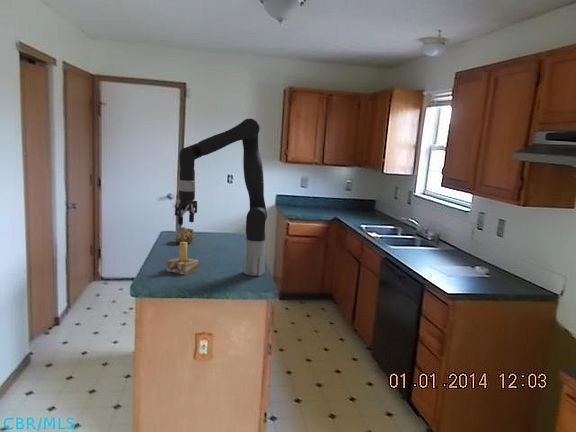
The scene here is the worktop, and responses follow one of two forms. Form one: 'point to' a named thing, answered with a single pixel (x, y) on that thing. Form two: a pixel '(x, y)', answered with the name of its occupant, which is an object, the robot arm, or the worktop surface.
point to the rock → (185, 235)
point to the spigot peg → (183, 252)
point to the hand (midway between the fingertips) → (186, 223)
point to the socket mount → (182, 266)
